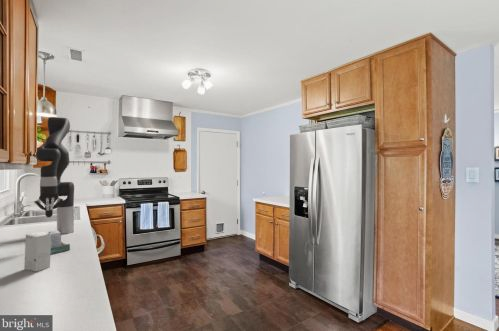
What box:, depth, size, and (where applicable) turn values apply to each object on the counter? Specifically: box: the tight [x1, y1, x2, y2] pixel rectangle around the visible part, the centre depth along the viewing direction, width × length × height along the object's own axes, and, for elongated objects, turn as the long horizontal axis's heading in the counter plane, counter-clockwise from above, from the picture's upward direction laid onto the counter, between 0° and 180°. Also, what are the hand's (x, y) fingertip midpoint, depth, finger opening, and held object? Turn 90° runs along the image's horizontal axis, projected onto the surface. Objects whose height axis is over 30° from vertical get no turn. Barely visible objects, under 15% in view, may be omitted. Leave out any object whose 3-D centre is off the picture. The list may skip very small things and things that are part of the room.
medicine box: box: [47, 230, 62, 248], centre depth 138 cm, size 8×4×9 cm, turn 44°
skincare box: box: [23, 231, 51, 272], centre depth 114 cm, size 8×6×15 cm
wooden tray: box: [50, 241, 71, 255], centre depth 142 cm, size 24×9×3 cm, turn 53°
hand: (49, 217), depth 144 cm, fingers closed
